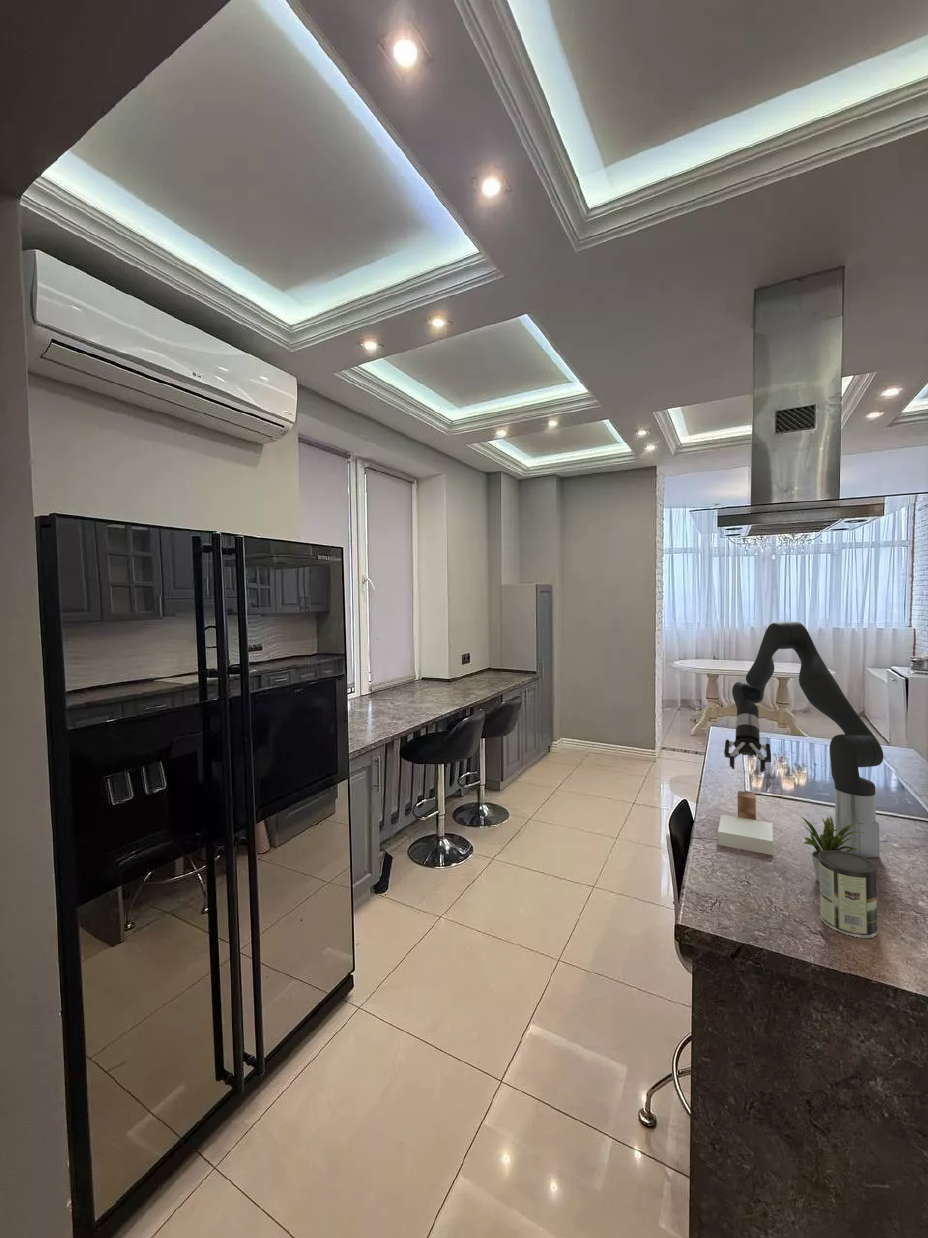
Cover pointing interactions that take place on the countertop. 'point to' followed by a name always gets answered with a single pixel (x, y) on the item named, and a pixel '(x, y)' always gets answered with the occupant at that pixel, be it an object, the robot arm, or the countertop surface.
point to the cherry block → (747, 805)
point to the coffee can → (848, 893)
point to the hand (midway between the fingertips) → (747, 769)
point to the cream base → (746, 834)
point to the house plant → (827, 840)
